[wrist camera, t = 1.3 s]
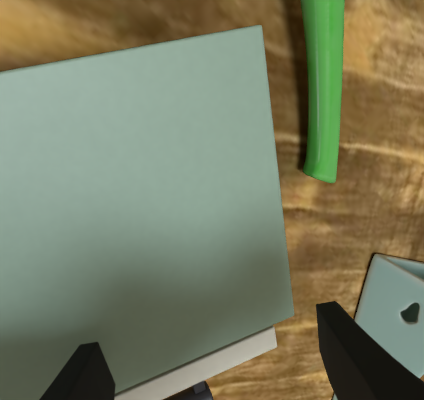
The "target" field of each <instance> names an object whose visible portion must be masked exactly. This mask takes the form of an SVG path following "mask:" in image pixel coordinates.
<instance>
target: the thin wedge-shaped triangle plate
mask: <svg viewBox="0 0 424 400" xmlns="http://www.w3.org/2000/svg"><path fill="white" fill-rule="evenodd" d="M354 321H355V322H356V323H357V324H358V325H359V326H360V327H361V328H362V329H363V330H364V331H365V332H366V333H367V334H368V335H369V336H370V337H371V338H373V339H374V340H375V341H376V342H377V343H378V344H379V345H380V346H381V347H382V348H383V349H385V350H386V351H387V352H388V353H389V354H390V355H391V356H392V357H394V358H395V359H396V360H397V361H398V362H400V363H401V364H402V365H403V366H404V367H406V368H407V369H408V370H409V371H410V372H412V373H413V374H414V375H416V376H417V377H418V378H420V377H421V376H422V375H424V263H423V262H418V261H413V260H408V259H403V258H397V257H392V256H387V255H382V254H375V255H374V257H373V259H372V262H371V265H370V268H369V271H368V274H367V278H366V281H365V285H364V288H363V292H362V295H361V299H360V302H359V306H358V310H357V313H356V317H355V320H354ZM333 400H337V397H336V395H335V393H334V397H333Z"/></svg>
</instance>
